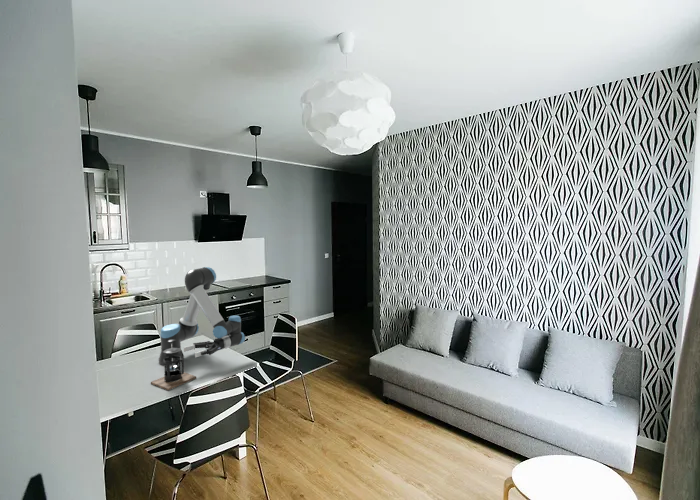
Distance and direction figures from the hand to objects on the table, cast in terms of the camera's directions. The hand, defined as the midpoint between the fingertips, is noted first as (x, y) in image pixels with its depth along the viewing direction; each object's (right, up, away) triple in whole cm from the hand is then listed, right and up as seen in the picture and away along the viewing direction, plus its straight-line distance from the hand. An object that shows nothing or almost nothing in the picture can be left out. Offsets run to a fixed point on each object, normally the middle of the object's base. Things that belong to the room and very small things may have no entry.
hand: (189, 352), depth 217 cm
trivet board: (-6, -15, -6) cm, 17 cm away
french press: (-6, -14, -6) cm, 16 cm away
